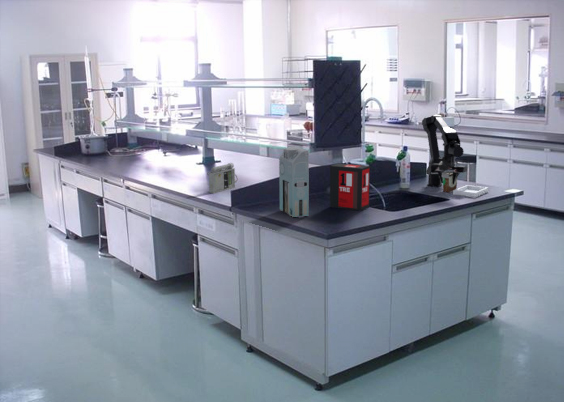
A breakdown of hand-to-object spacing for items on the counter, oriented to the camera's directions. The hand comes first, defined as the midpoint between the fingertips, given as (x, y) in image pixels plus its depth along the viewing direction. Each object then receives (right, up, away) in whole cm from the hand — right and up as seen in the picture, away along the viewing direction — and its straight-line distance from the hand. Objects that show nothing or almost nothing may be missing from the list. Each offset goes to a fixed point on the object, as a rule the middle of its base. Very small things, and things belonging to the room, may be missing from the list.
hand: (447, 183), depth 339 cm
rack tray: (+10, -5, -7) cm, 13 cm away
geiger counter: (-121, -3, +10) cm, 121 cm away
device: (-84, -15, -48) cm, 98 cm away
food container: (0, -4, +1) cm, 4 cm away
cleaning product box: (-57, -12, -36) cm, 68 cm away
